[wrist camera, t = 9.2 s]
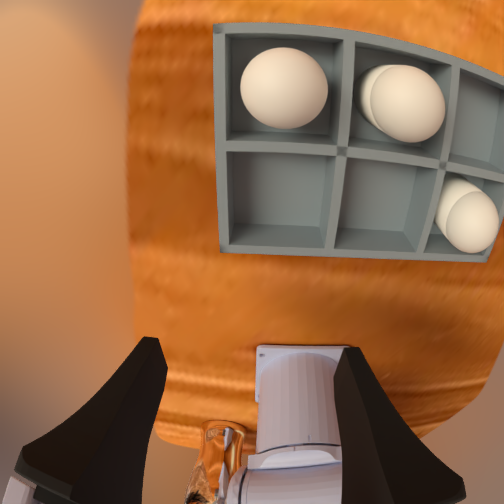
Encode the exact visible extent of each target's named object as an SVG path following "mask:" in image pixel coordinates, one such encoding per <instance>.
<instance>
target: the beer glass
mask: <svg viewBox="0 0 504 504" xmlns="http://www.w3.org/2000/svg"><path fill="white" fill-rule="evenodd" d="M200 431H201V446H200V452H199V456H198V459H197V462H196V464H195V467H194V470H193V472H192V474H191V477H190V480H189V483H188V486H187V490H186V495H185V501H184V504H227V491H228V486H229V483H230V480H231V478H232V476H233V475H234V474H235V473H236V472H237V470H238V469H239V468H240V467H241V466H242V462H241V457H242V448H243V444H244V441H245V438H246V434H247V430H246V429H245V428H244V427H243V426H241V425H239V424H237V423H234V422H230V421H224V420H210V421H206V422H204V423H202V424H201V428H200Z"/></svg>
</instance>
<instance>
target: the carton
mask: <svg viewBox="0 0 504 504" xmlns="http://www.w3.org/2000/svg"><path fill="white" fill-rule="evenodd" d="M283 47H285V48H293V49H297V50H299V51H302V52H304V53H306V54H308V55H309V56H311V57H312V58H313V59H314V60H315V61H316V62H317V63H318V64H319V65H320V67H321V68H322V70H323V72H324V74H325V76H326V79H327V84H328V94H327V99H326V102H325V105H324V107H323V109H322V110H321V112H320V113H319V114H318V115H317V116H316V117H315V118H314V119H313V120H312V121H310V122H309V123H307V124H305V125H303V126H300V127H297V128H292V129H278V128H273V127H270V126H267V125H265V124H263V123H261V122H260V121H258V120H257V119H256V118H255V117H253V116H252V115H251V113H250V112H249V111H248V110H247V108H246V106H245V104H244V102H243V100H242V96H241V89H240V85H241V78H242V75H243V72H244V70H245V68H246V67H247V65H248V64H249V62H250V61H251V60H252V59H253V58H255V57H256V56H257V55H259V54H260V53H262V52H264V51H267V50H270V49H273V48H283ZM376 65H408V66H413V67H416V68H418V69H420V70H422V71H424V72H425V73H427V74H428V75H429V76H431V77H432V78H433V79H434V81H435V82H436V83H437V84H438V86H439V88H440V89H441V92H442V94H443V97H444V101H445V116H444V120H443V123H442V125H441V127H440V128H439V130H438V131H437V132H436V133H435V134H434V135H433V136H431V137H430V138H428V139H426V140H423V141H420V142H403V141H399V140H397V139H394V138H392V137H391V136H389V135H387V134H386V133H384V132H383V131H381V130H379V129H378V128H376V127H374V126H373V125H371V124H370V123H368V122H367V121H366V120H365V119H364V118H363V117H362V116H361V114H360V113H359V111H358V109H357V107H356V104H355V100H354V89H355V85H356V82H357V80H358V78H359V76H360V75H361V74H362V73H363V72H364V71H365V70H367V69H368V68H370V67H372V66H376ZM213 76H214V124H215V156H216V182H217V204H218V223H219V242H220V253H246V254H272V255H298V256H324V257H351V258H378V259H405V260H433V261H461V262H487V260H488V257H489V255H490V252H491V250H492V247H493V245H494V242H495V239H496V237H497V235H496V237H495V239H494V241H493V242H492V243H491V245H490V246H489V247H487V248H486V249H484V250H483V251H480V252H477V253H466V252H463V251H461V250H459V249H457V248H456V247H454V246H453V245H452V244H451V243H450V242H449V240H448V239H447V238H446V237H445V235H444V234H443V233H442V232H441V230H440V229H439V228H438V227H437V226H436V224H435V223H434V222H433V220H434V216H435V213H436V209H437V205H438V201H439V197H440V193H441V189H442V185H443V181H444V176H445V174H448V173H457V174H460V175H462V176H463V177H464V178H466V179H467V180H468V181H470V182H471V183H472V184H474V185H475V186H476V187H477V188H479V189H480V190H481V191H482V192H484V193H485V194H486V195H487V196H488V197H489V198H490V199H491V200H492V201H493V203H494V204H495V207H496V209H497V212H498V216H499V228H500V226H501V223H502V220H503V217H504V77H503V76H501V75H499V74H497V73H494V72H492V71H490V70H488V69H485V68H483V67H481V66H478V65H476V64H473V63H471V62H468V61H466V60H463V59H460V58H457V57H455V56H452V55H449V54H446V53H443V52H440V51H437V50H434V49H431V48H427V47H424V46H420V45H417V44H413V43H410V42H406V41H402V40H398V39H394V38H389V37H385V36H380V35H375V34H370V33H365V32H359V31H353V30H347V29H340V28H333V27H324V26H315V25H304V24H289V23H220V24H213ZM499 228H498V231H499ZM497 234H498V232H497Z"/></svg>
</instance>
